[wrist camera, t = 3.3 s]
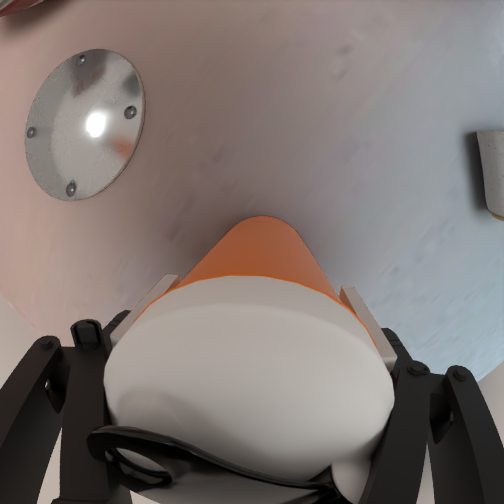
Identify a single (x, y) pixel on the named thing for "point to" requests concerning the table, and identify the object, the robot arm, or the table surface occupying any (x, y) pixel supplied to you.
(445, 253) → the table surface
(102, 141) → the flange
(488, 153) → the ceramic mug
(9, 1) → the bowl
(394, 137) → the table surface
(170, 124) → the table surface
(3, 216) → the table surface
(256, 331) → the shaker bottle
